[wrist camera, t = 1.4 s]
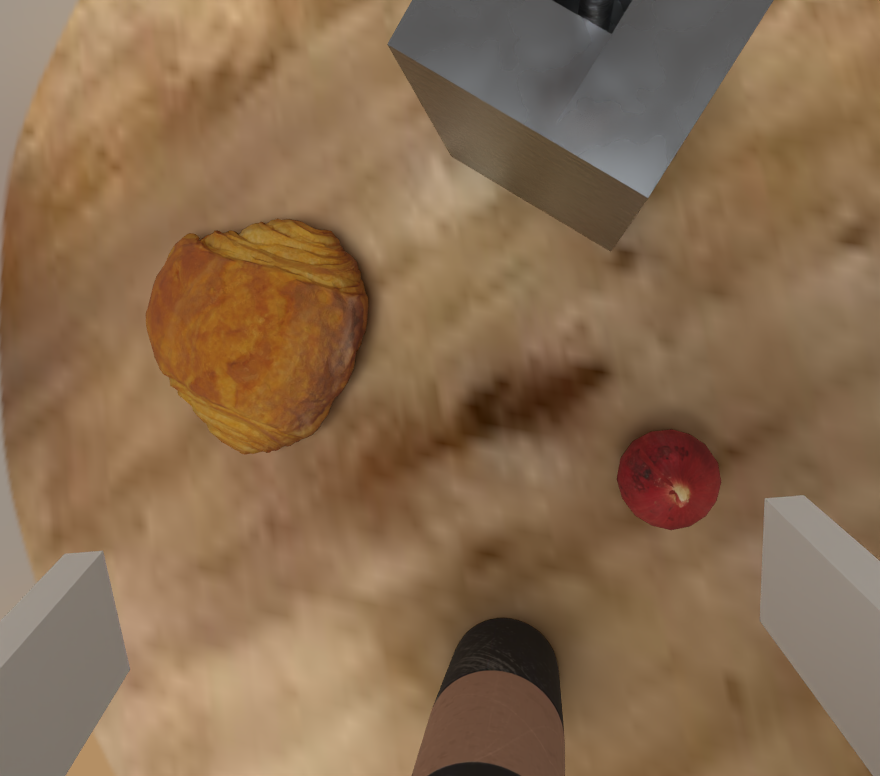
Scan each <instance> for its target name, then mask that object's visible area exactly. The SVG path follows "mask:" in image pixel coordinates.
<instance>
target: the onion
mask: <svg viewBox="0 0 880 776" xmlns="http://www.w3.org/2000/svg"><path fill="white" fill-rule="evenodd" d="M617 482H618V485H619V489H620V492H621V496H622V498H623V500H624V501H625V503H626V504H627V505H628V507H629V508H630V509H631V511H632V512H633V513H634V515H635V516H637V517H639V518H640V519H642V520H644V521H645V522H647V523H649V524H650V525H652V526H656V527H661V528H665V529H669V530H674V529H679V528H684V527H689V526H691V525H693V524H694V523H696V522H697V521H699V520H700V519H702V518H703V517H705V516H706V515H707V514H708V512H709V511H710V509H711V508H712V506H713V505H714V504H715V502H716V501H717V497H718V493H719V489H720V485H721V478H720V473H719V467H718V462H717V461H716V459H715V458H714V457H713V455H712V454H711V452H710V451H709V449H708V448H707V446H706V445H705V444H704V443H702V442H701V441H699V440H698V439H696V438H695V437H693V436H692V435H690V434H687V433H683V432H680V431H676V430H672V429H670V430H662V431H653V432H649V433H647V434H645V435H643V436H641V437H640V438H638V439H636V440H634V441H633V442H632V443H631V444H630V446H629V447H628V448H627V450H626V451H625V453H624V454H623V455H622V457H621V459H620V464H619V470H618V475H617Z"/></svg>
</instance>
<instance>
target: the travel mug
mask: <svg viewBox="0 0 880 776" xmlns="http://www.w3.org/2000/svg"><path fill="white" fill-rule="evenodd" d="M412 776H565V740H564V727H563V715H562V703H561V692H560V680H559V670H558V664H557V660H556V657H555V654H554V651H553V649H552V647H551V646H550V644H549V643H548V641H547V640H546V639H545V638H544V637H543V635H542V634H541V633H539V632H538V631H537V630H536V629H534V628H533V627H531V626H530V625H528V624H526V623H524V622H521V621H518V620H514V619H507V618H497V619H491V620H488V621H484V622H482V623H480V624H478V625H476V626H475V627H473V628H472V629H471V630H469V631H468V632H467V633H466V634H465V635H464V636H463V638H462V639H461V641H460V642H459V644H458V646H457V648H456V650H455V652H454V655H453V657H452V660H451V662H450V665H449V667H448V670H447V672H446V675H445V677H444V680H443V682H442V685H441V688H440V690H439V693H438V695H437V698H436V700H435V703H434V705H433V708H432V711H431V714H430V717H429V720H428V724H427V727H426V730H425V734H424V737H423V740H422V743H421V747H420V750H419V753H418V757H417V760H416V763H415V766H414V770H413V773H412Z"/></svg>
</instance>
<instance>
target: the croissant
mask: <svg viewBox="0 0 880 776" xmlns="http://www.w3.org/2000/svg"><path fill="white" fill-rule="evenodd" d="M360 278H361V272H360V271H359V269H358V264H357V262H356V261H355V260H354V259H353V257H352V256H351V255H350V254H348V253H346V252H345V251H344V250H343V248H342V247H341V245H340V242H339V240H338V239H337V238H336V237H335V235H334V234H333V233H332V231H328V230H317V229H314V228H312V227H310V226H308V225H306V224H305V223H303V222H301V221H296V220H291V219H286V220H280V219H276V220H271V221H270V222H269V223H267V224H265V223H263V222H260V223H255V224H252V225H250V226H248V227H247V228H245V229H243V230H242V232H241V233H240V234H238V233H237V232H234V231H228V232H226V233H221V232H220V231H214V233H212V234H211V235H207V236H205V237H204V238H203V239H201V240H199V237H198V236H197V235H196V234H191V233H189V234H187V235H186V236H184V237H183V238H182V239H181V240H180V241H179V242H177V243H176V244H175V246H174V247H173V249H172V250H171V252H170V253H169V255H168V258H167V261H166V263H165V265H164V266H163V268H162V269H161V271H160V272H159V274H158V275H157V277H156V280H155V283H154V285H153V289H152V293H151V297H150V301H149V305H148V309H147V312H146V327H147V331H148V335H149V338H150V342H151V345H152V349H153V352H154V357H155V359H156V361H157V363H158V366H159V368H160V370H161V371H162V373H163V374H164V375H166V376H168V377H169V379H170V386H172V387H174V388H175V389H176V390H178V395H179V396H180V397H182V398H183V399H184V400H185V401H186V402H188V403H189V404H190V405H191V406H192V408H193V411H194V412H195V413H196V415H197V416H198V417H200V419H201V420H202V421H203V422H205V423H206V424H207V426H208V429H209V431H210V432H211V433H212V434H213V435H215V436H216V437H217V438H218V439H219V440H220V441H221V442H223V443H225V444H227V445H228V446H230V447H232V448H233V449H235V450H237V451H239V452H240V453H241V454H250V453H251V454H254V453H258V452H262V451H264V452H266V453H269V452H271V451H276V450H278V449H280V448H281V447H283V446H291V445H292V444H293V443H295V442H298V441H300V440H301V439H303V438H306V437H308V436H310V435H312V434H313V433H314V432H315V431H316V430H318V428H319V426H320V425H321V423H322V421H323V420H324V419H325V418H326V416H327V415H328V413H329V410H330V407H331V405H332V402H333V400H334V399H335V397H337V396H338V395H339V394H340V393H341V392H342V390H343V389H344V387H345V386H346V384H347V383H348V380H349V378H350V376H351V374H352V371H353V368H354V363H355V355H356V352H357V351H358V349H359V347H360V345H361V340H362V337H363V335H364V333H365V330H366V326H367V315H368V297H367V295H366V293H365V289H364V284H363V281H362V280H361V279H360Z"/></svg>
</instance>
